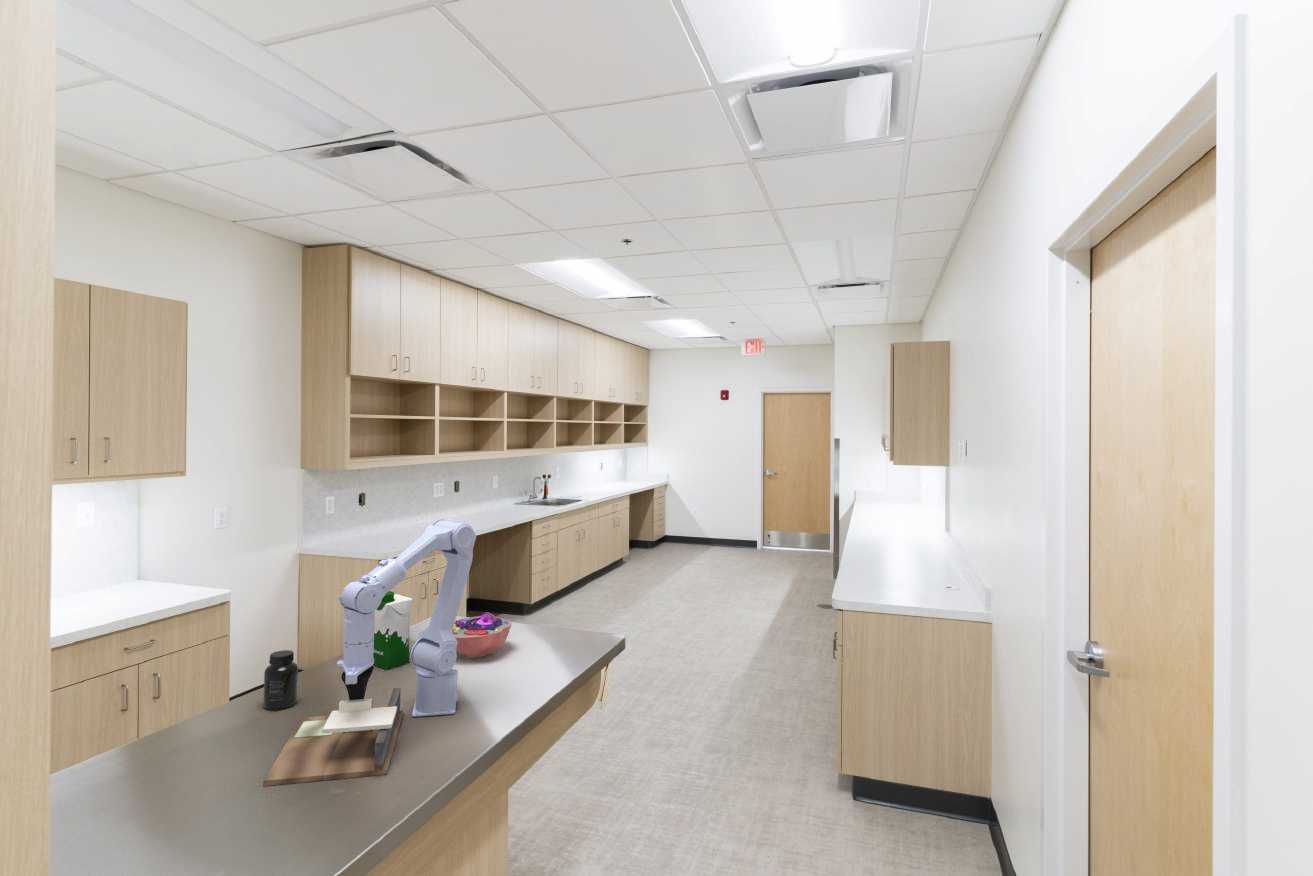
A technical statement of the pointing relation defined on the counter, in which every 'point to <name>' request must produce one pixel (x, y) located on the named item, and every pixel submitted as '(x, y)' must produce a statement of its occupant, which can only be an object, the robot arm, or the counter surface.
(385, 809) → the counter surface
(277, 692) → the supplement bottle
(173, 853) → the counter surface
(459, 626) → the cell model
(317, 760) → the board
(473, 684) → the counter surface
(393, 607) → the milk carton
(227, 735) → the counter surface
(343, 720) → the cover
